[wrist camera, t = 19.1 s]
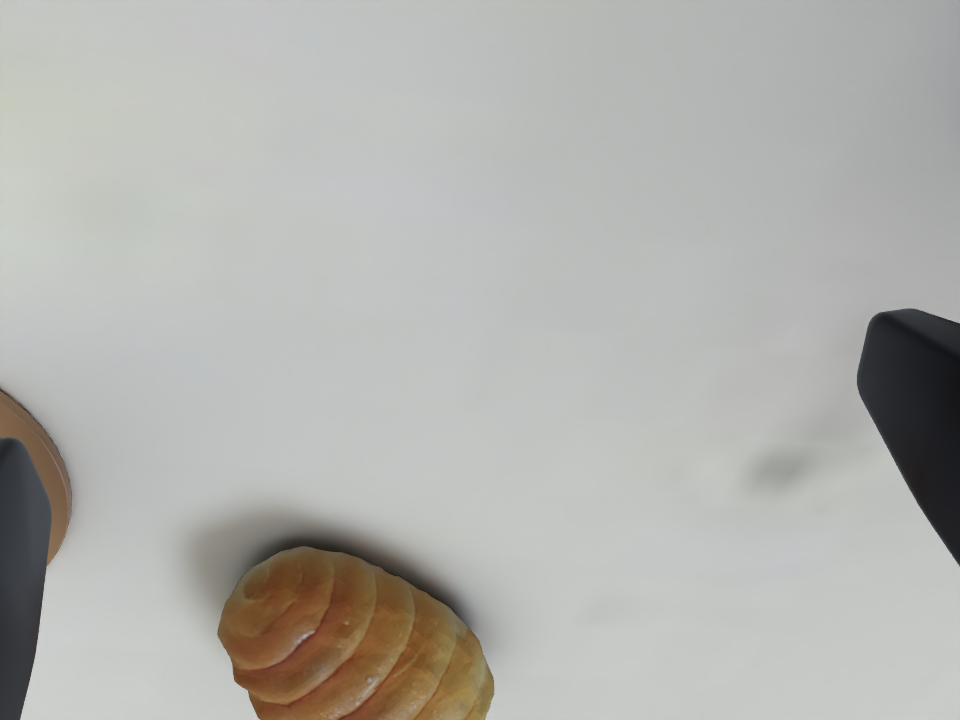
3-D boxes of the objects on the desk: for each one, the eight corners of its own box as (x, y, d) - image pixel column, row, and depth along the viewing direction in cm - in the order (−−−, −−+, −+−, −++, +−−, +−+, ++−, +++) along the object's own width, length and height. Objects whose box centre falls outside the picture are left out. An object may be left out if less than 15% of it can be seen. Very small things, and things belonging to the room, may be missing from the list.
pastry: (163, 604, 26) (146, 714, 23) (341, 491, 25) (348, 590, 22) (353, 733, 32) (360, 838, 28) (508, 644, 30) (533, 743, 27)
